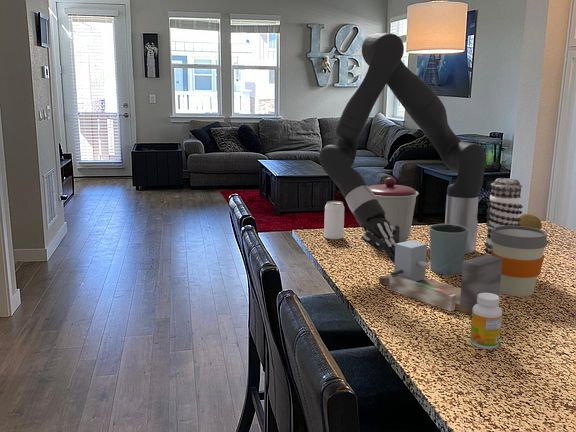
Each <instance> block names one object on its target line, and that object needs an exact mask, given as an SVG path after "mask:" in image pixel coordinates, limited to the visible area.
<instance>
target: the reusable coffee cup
mask: <svg viewBox="0 0 576 432" xmlns="http://www.w3.org/2000/svg"><path fill="white" fill-rule="evenodd" d="M547 237H548V235H547V232H546V231H544V230H542V229H541V230H539V229H536V228H531V227H524V226H497V227H495V228H493V232H492V237H491V241H492V243H493V250H492V251H491V256H495V257H499V258H503V259H502V270H501V281H500V292H499V294H503V295H506V296H512V297H529V296H532V295H534V291H535V287H536V284H537V279H538V276H540V275H541V272H542V271H541V270H542V267H543V263H544V260H545V255H544V252H545V248H546V247H547V244H548V242H547V241H548V240H547V239H548V238H547Z"/></svg>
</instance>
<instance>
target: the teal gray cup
mask: <svg viewBox="0 0 576 432" xmlns="http://www.w3.org/2000/svg"><path fill="white" fill-rule="evenodd" d="M428 228H429V240H430V241H429V242H430V243H429V245H430V246H429V252H430V254H429V258H430V262H429V268H430V270H431V271H432V272H433V273H436V274H439V275H445V276H446V275H447V276H455V275H460V274H462V270H463V261H465V256H466V254H465V249H466V242H467V236H468V231H469V230H468V228H466V227H464V226H460V225H455V224H445V223H436V224H432V225H430V226H429V227H428Z"/></svg>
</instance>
